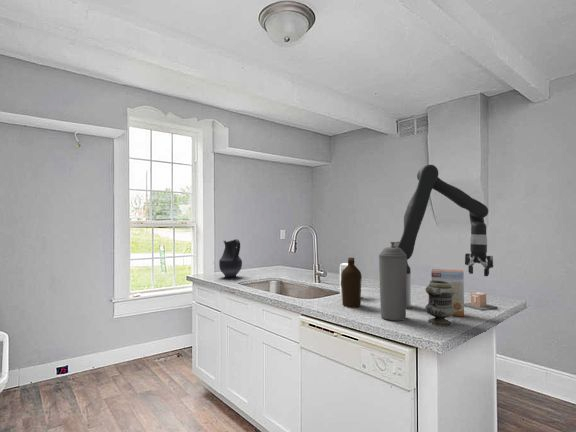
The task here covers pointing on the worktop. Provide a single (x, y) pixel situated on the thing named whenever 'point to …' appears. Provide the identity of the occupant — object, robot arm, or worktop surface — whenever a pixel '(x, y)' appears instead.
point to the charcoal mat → (480, 307)
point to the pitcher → (231, 259)
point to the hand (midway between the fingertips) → (478, 274)
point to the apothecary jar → (440, 302)
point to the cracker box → (456, 283)
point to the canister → (393, 282)
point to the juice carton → (342, 267)
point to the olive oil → (351, 285)
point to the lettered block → (478, 299)
